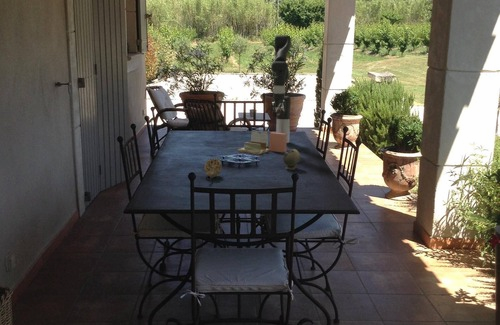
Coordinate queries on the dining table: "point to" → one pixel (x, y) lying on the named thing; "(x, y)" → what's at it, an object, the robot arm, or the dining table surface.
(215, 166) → the pine cone
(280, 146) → the tall salmon pink block
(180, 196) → the dining table surface
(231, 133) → the dining table surface
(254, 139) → the ink box
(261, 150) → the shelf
